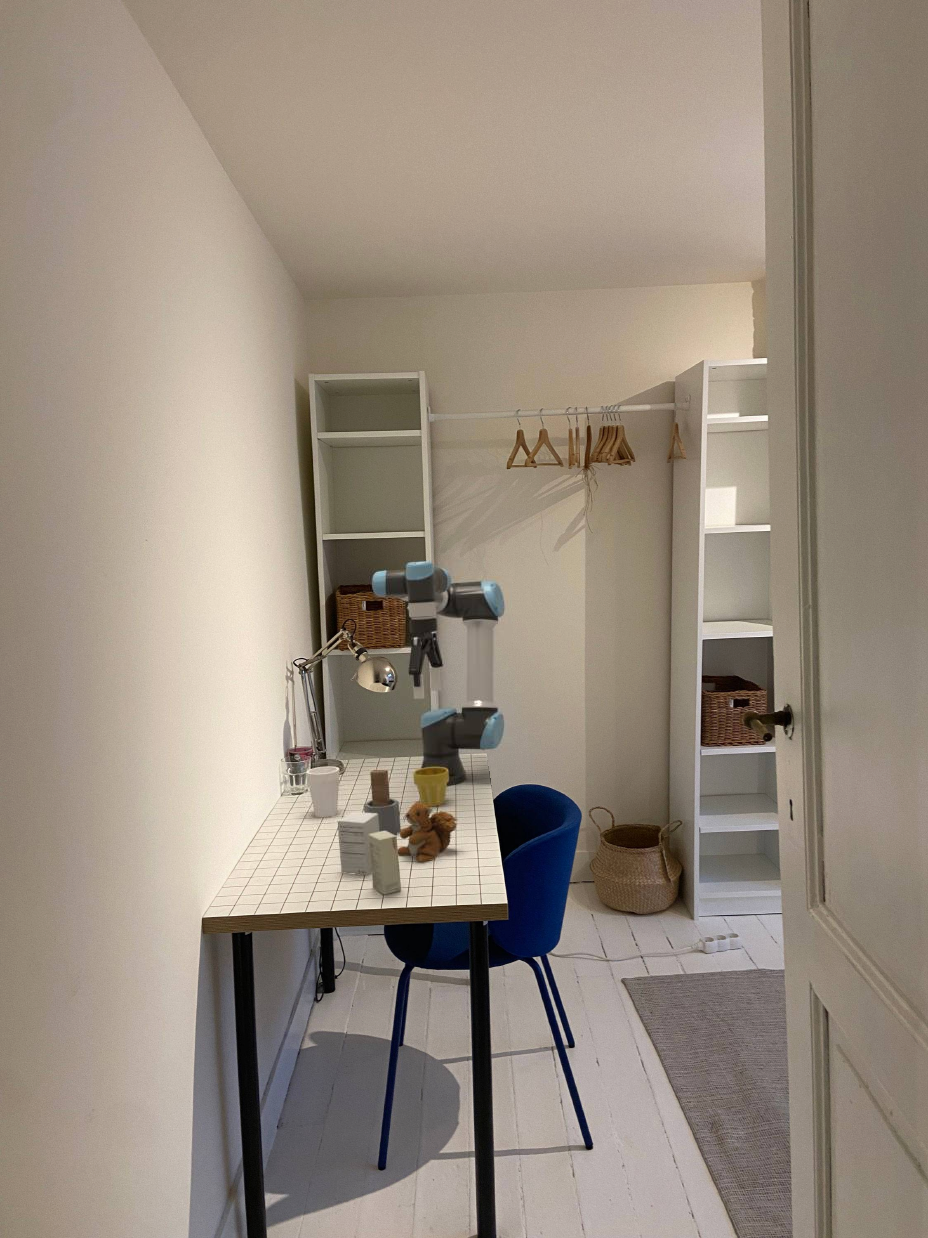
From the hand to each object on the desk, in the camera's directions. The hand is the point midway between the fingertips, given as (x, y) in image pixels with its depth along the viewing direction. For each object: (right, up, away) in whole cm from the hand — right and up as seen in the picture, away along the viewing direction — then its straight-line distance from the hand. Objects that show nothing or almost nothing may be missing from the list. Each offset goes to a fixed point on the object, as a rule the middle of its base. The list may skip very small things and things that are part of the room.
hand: (428, 694), depth 243 cm
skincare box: (-7, -39, -49) cm, 63 cm away
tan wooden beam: (-12, -36, -8) cm, 38 cm away
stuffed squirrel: (+1, -37, -27) cm, 46 cm away
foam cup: (-30, -36, +13) cm, 49 cm away
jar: (-12, -36, -8) cm, 39 cm away
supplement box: (-14, -38, -35) cm, 54 cm away
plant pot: (+1, -34, +17) cm, 38 cm away
